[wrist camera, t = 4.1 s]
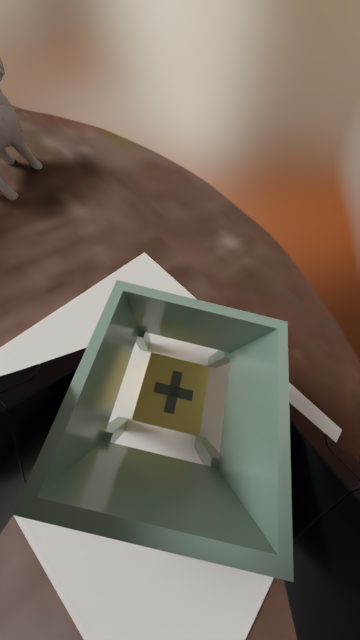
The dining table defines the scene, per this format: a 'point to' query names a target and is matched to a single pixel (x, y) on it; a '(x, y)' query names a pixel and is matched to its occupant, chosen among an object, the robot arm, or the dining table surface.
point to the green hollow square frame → (168, 472)
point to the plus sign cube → (172, 394)
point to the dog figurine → (12, 139)
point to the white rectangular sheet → (126, 558)
